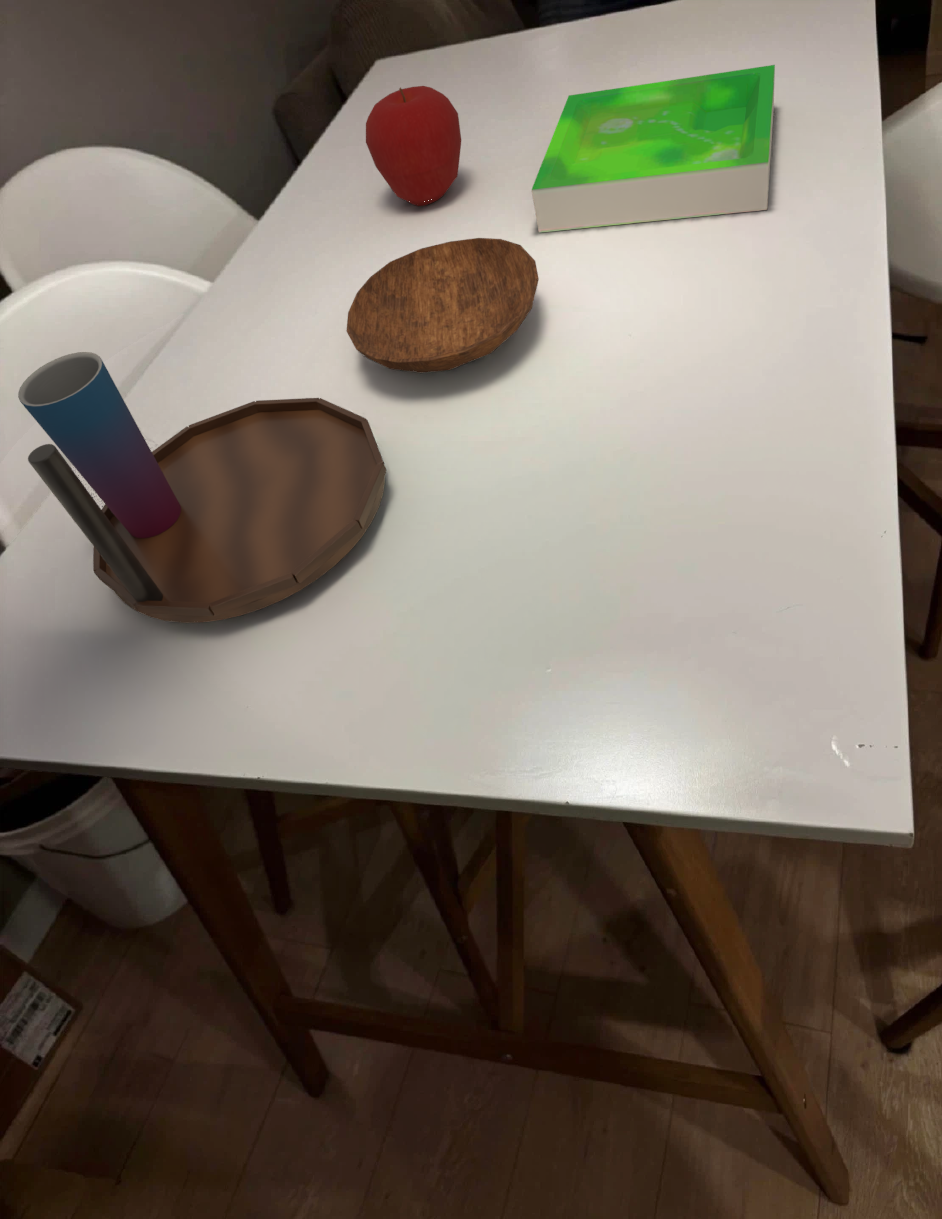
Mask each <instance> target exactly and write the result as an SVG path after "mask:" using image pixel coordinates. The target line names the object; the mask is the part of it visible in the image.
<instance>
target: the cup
mask: <svg viewBox="0 0 942 1219" xmlns="http://www.w3.org/2000/svg"><path fill="white" fill-rule="evenodd" d="M17 396H18V400H19V402H20V404H21V405H22V406H23V407H24V408H25V410H26V411H27V412H28V413H29V414H30V415H31V417H32V418H33V419H34V420H35V421H36V422H37V423H38V425H39V426H40V428H42V430H43V431H44V433H46V434H47V436H48V437H49V438H50V440H52V442H53V443H54V444H55V446H56V447H57V449H58V450H60V451H61V453H62V454H63V455H64V456H65V457H66V459H67V460H68V461H69V462H70V463H71V465H72V466H73V467H74V468H75V470H76V471H77V472H78V473H79V474H80V476H81V477H82V478H83V479H84V480H85V482H86V483H87V484H88V485H89V487H90V488H91V489H92V490H93V491H94V493H95V494H96V495H97V496H98V497H99V499H100V500H101V501H102V502H103V503H104V505H105V504H106V505H107V507H108V508H109V509H110V510H111V511H112V513H113V514H114V515H115V516H116V518H117V519H118V520H119V521H120V522H121V524H122V525H123V526H124V527H125V528H126V530H127V531H128V532H129V533H130V534H131V535H132V536H134V537H137V538H149V537H153V536H156V535H158V534H160V533H162V532H164V531H166V530H167V529H168V528H170V527H171V526H172V525H173V524H174V523H175V522H176V521H177V519H178V517H179V515H180V513H181V506H180V504H179V502H178V500H177V498H176V496H175V494H174V493H173V491H172V489H171V487H170V485H169V483H168V482H167V480H166V478H165V476H164V474H163V472H162V470H161V469H160V467H159V465H158V463H157V461H156V459H155V457H154V456H153V454H152V450H151V448H150V446H149V444H148V442H147V440H146V439H145V437H144V435H143V434H142V432H141V430H140V427H139V426H138V424H137V423H136V420H135V419H134V417H133V414H132V413H131V411H130V409H129V408H128V406H127V403H126V402H125V400H124V398H123V396H122V394H121V393H120V391H119V389H118V387H117V386H116V383H115V381H114V380H113V377H112V376H111V374H110V372H109V370H108V369H107V366H106V365H105V363H104V360H103V359H102V357H101V356H100V355H99V354H97V353H94V352H91V351H78V352H74V353H72V352H71V353H68V354H65V355H62V356H59V357H57V358H55V359H53V360H50V361H48V362H46V363H45V364H43V365H42V366H40V367H38V368H37V369H36V370H35V371H34V372H32V373H31V374H30V375H29V376H28V377H27V378H26V379H25V380H23V382H22V384H21V386H20V387H19V389H18V393H17Z"/></svg>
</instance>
